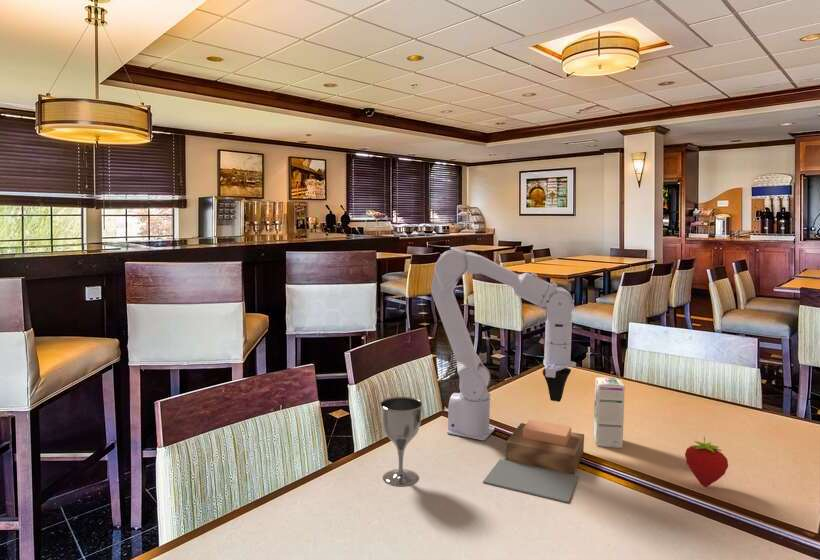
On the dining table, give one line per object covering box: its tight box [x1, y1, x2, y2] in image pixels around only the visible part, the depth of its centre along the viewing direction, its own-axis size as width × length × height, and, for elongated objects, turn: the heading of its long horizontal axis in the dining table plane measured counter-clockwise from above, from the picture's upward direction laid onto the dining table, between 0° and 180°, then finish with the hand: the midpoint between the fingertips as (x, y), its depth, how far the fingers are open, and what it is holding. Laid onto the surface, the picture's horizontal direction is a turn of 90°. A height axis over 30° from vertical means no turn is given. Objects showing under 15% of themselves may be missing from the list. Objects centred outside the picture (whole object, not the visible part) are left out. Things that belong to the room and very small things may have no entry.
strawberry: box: [684, 436, 729, 487], centre depth 101 cm, size 6×8×10 cm
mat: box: [482, 458, 579, 504], centre depth 103 cm, size 16×11×1 cm
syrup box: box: [593, 376, 626, 449], centre depth 120 cm, size 6×6×14 cm
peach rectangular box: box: [523, 418, 572, 446], centre depth 114 cm, size 9×6×2 cm, turn 63°
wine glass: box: [380, 396, 423, 487], centre depth 103 cm, size 8×8×15 cm
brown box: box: [504, 422, 585, 475], centre depth 113 cm, size 14×12×4 cm
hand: (555, 400), depth 121 cm, fingers closed
